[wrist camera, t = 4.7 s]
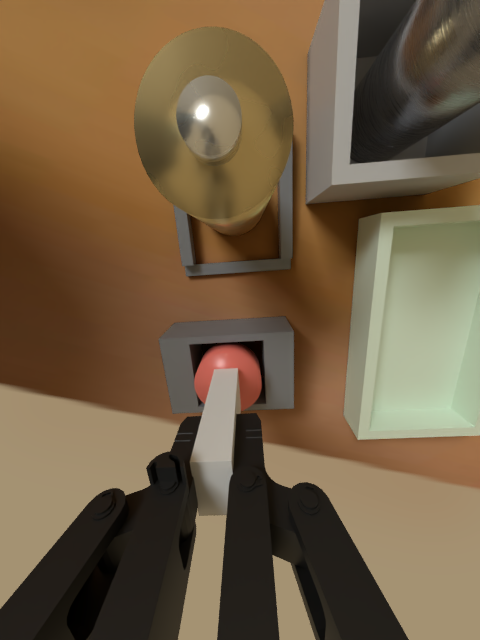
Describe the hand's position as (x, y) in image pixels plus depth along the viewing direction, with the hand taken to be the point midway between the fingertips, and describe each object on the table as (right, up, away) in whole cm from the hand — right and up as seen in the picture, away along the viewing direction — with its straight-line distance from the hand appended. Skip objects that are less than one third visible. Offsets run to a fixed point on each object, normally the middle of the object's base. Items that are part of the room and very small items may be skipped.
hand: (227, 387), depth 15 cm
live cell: (0, +13, +1) cm, 13 cm away
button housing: (0, +2, +5) cm, 5 cm away
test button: (0, +1, +2) cm, 2 cm away
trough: (+14, +4, +4) cm, 15 cm away
